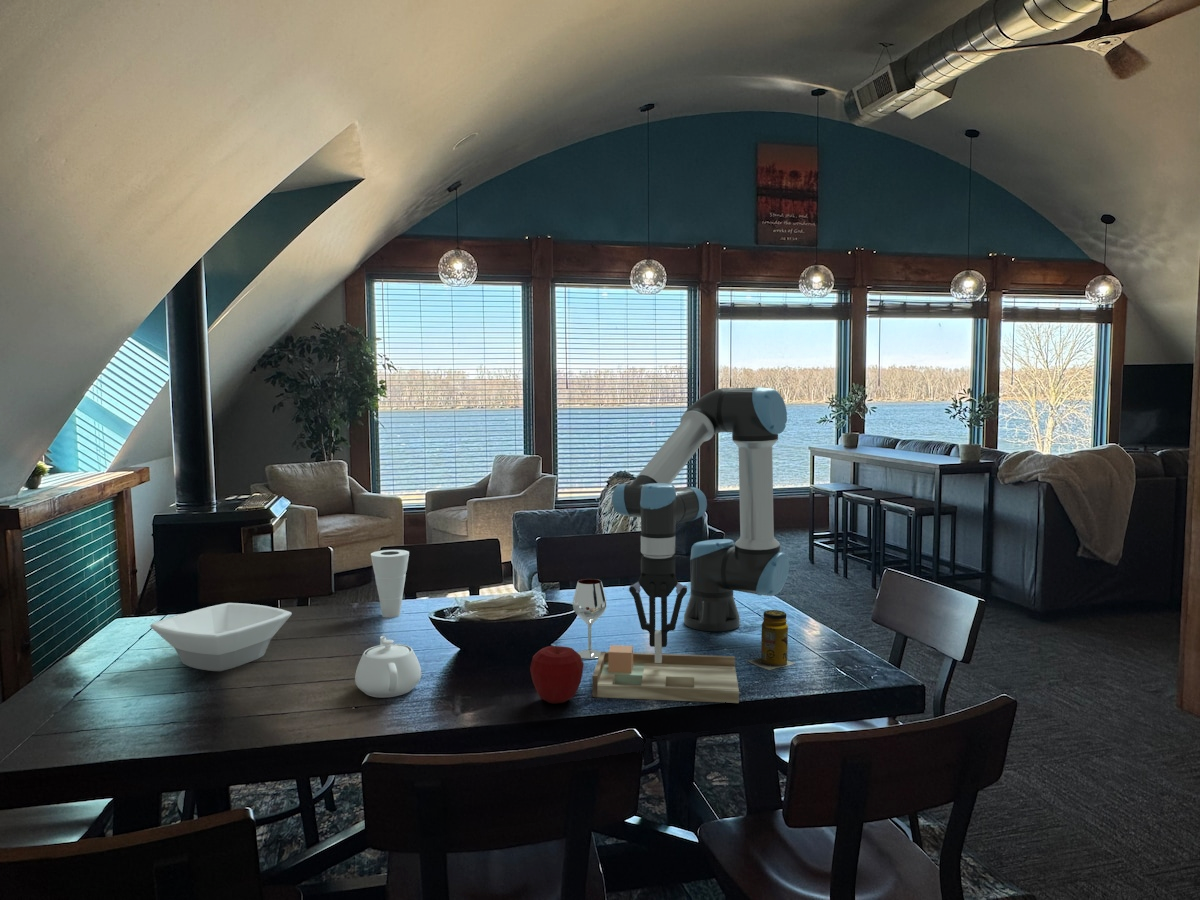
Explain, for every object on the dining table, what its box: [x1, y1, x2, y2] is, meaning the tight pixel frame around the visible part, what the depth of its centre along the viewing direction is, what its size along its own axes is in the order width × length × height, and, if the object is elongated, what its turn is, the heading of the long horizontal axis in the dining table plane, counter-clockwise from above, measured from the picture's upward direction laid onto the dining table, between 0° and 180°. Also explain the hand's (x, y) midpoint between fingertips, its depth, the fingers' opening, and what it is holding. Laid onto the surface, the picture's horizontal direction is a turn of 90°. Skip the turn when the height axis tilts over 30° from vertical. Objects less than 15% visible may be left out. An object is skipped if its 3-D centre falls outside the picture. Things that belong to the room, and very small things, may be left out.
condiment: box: [747, 609, 796, 671], centre depth 187 cm, size 7×8×12 cm
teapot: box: [354, 635, 422, 699], centre depth 170 cm, size 22×14×11 cm, turn 21°
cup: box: [370, 549, 410, 619], centre depth 228 cm, size 11×11×18 cm
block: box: [607, 644, 634, 673], centre depth 176 cm, size 5×5×4 cm
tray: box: [592, 651, 740, 704], centre depth 172 cm, size 16×30×4 cm, turn 84°
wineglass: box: [572, 578, 608, 660], centre depth 192 cm, size 8×8×18 cm
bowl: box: [150, 602, 292, 672], centre depth 190 cm, size 24×25×10 cm
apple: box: [529, 645, 585, 705], centre depth 163 cm, size 11×11×12 cm
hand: (658, 660), depth 175 cm, fingers closed
